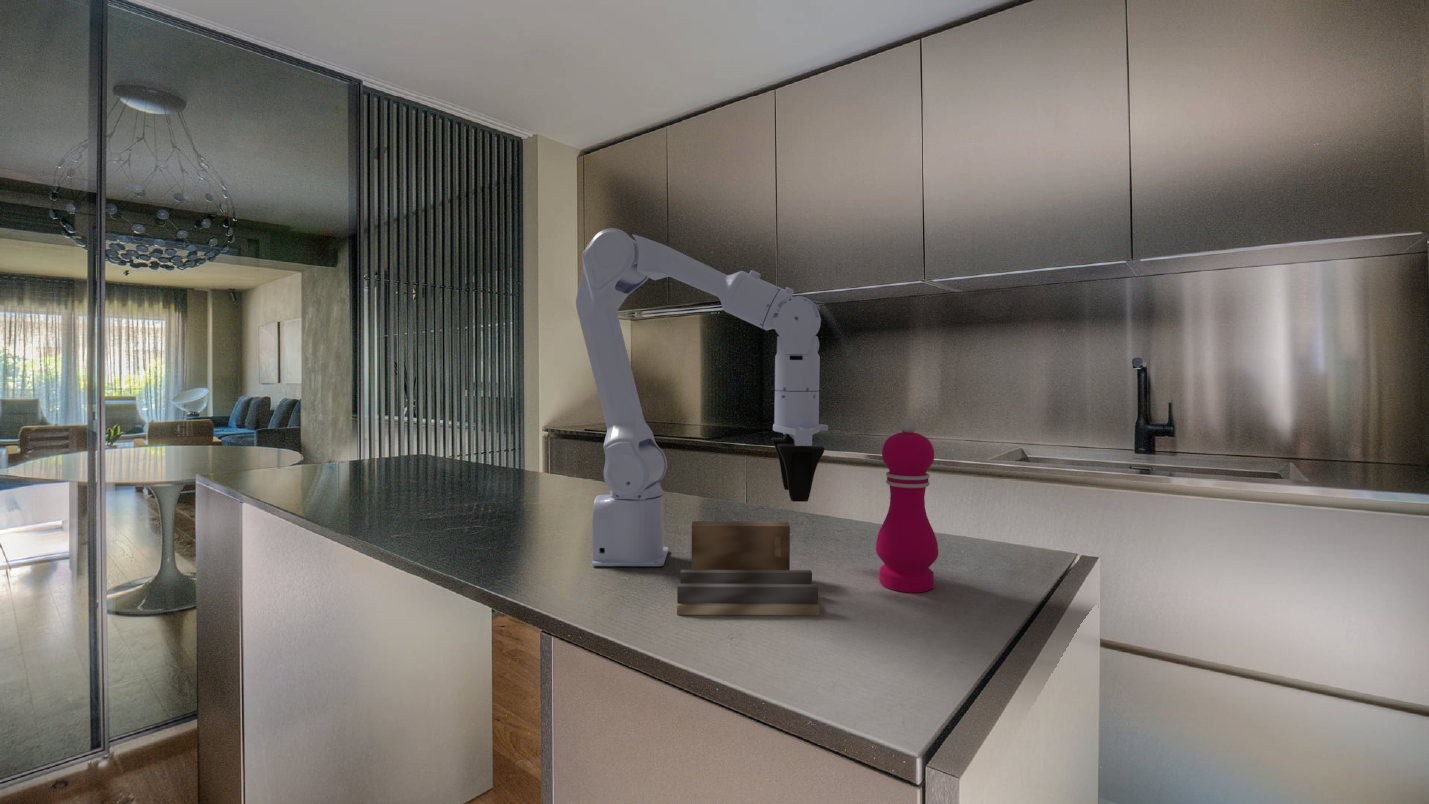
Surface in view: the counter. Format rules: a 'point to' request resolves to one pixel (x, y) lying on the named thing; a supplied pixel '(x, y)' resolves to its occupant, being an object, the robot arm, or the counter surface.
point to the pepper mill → (907, 514)
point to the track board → (747, 592)
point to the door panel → (740, 545)
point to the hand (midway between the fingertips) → (795, 495)
